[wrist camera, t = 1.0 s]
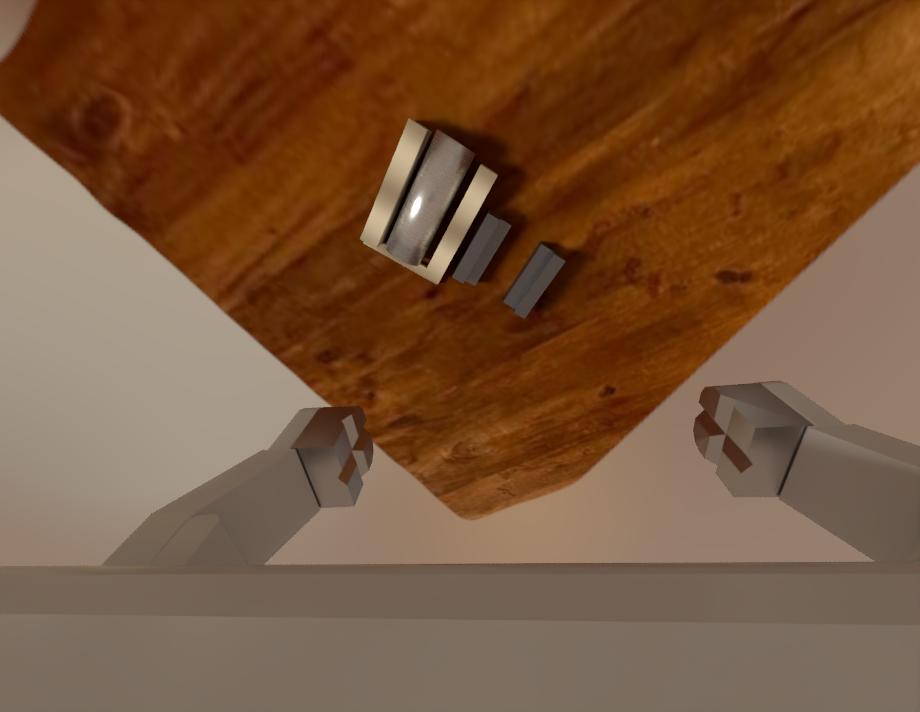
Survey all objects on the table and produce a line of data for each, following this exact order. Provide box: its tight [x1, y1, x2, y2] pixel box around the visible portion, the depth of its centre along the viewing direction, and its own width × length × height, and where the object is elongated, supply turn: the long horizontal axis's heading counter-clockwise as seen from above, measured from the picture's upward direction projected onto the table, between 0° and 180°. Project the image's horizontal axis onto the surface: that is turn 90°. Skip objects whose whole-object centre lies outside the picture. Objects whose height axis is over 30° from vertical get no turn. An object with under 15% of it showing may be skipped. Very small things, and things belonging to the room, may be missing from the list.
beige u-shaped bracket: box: [360, 119, 498, 284], centre depth 40 cm, size 14×10×3 cm
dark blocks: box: [452, 209, 566, 319], centre depth 42 cm, size 8×10×3 cm
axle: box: [385, 129, 476, 266], centre depth 39 cm, size 13×4×4 cm, turn 150°
